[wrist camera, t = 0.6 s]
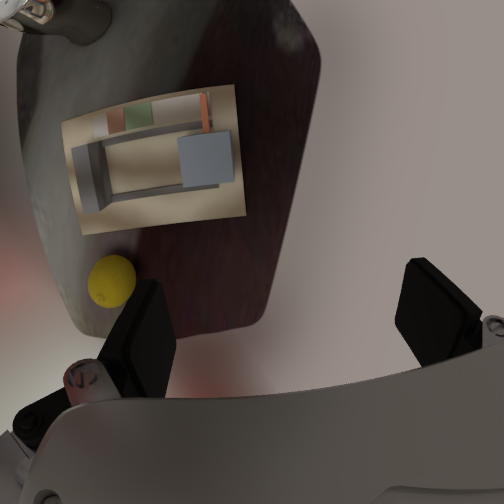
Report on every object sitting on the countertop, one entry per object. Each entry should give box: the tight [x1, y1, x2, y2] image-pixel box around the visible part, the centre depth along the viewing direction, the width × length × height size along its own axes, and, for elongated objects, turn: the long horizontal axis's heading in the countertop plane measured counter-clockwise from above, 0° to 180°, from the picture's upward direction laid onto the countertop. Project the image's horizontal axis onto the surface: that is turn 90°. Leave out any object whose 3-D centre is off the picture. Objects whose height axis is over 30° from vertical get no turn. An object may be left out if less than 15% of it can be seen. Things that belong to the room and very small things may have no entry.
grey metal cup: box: [0, 0, 112, 46], centre depth 15 cm, size 7×7×15 cm
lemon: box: [88, 255, 136, 308], centre depth 31 cm, size 6×6×8 cm
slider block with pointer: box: [177, 93, 235, 188], centre depth 25 cm, size 8×4×4 cm, turn 5°
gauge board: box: [61, 85, 246, 235], centre depth 27 cm, size 14×20×5 cm
